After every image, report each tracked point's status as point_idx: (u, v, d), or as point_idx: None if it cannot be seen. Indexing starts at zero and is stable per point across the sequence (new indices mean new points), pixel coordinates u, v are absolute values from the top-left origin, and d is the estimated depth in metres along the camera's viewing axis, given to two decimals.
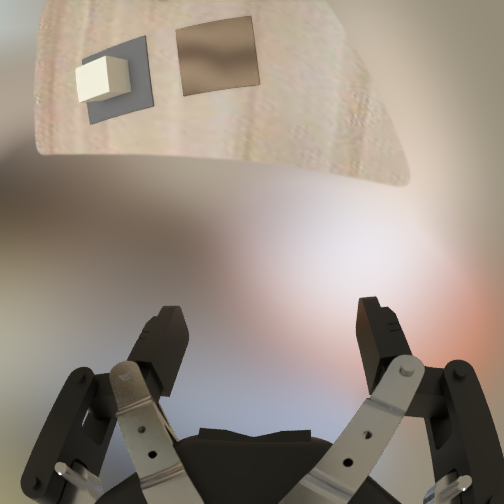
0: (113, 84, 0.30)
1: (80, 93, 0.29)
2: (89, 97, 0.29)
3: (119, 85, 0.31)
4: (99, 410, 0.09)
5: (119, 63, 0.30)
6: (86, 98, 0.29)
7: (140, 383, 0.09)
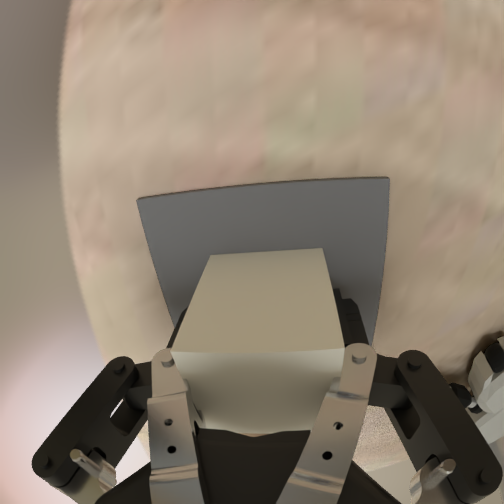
0: None
1: (209, 363, 0.08)
2: (190, 388, 0.09)
3: None
4: (133, 402, 0.09)
5: None
6: (187, 379, 0.09)
7: None
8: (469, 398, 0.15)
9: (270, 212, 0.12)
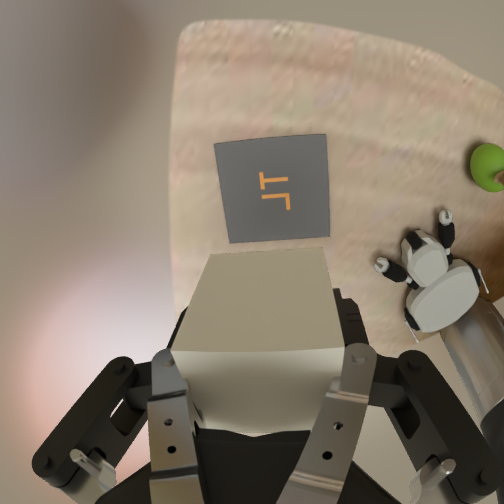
0: None
1: (209, 362, 0.08)
2: (190, 387, 0.09)
3: None
4: (133, 402, 0.09)
5: None
6: (187, 378, 0.09)
7: None
8: (402, 270, 0.30)
9: (274, 149, 0.28)
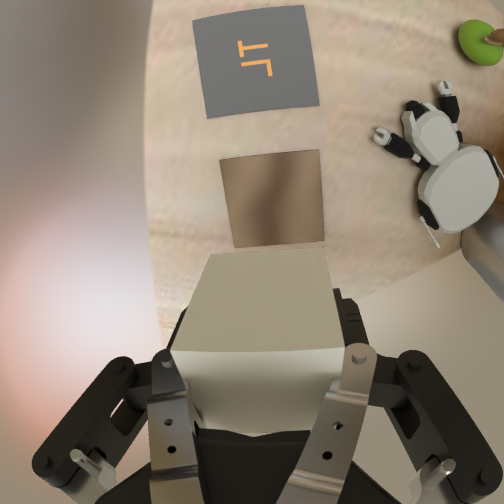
0: None
1: (209, 362, 0.08)
2: (190, 387, 0.09)
3: None
4: (133, 402, 0.09)
5: None
6: (187, 378, 0.09)
7: None
8: (408, 143, 0.24)
9: (252, 19, 0.22)
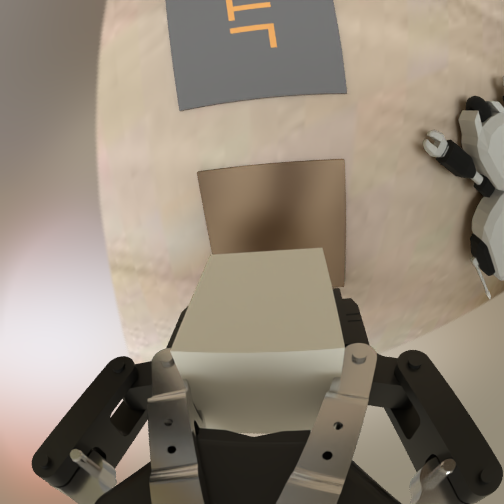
0: None
1: (209, 363, 0.08)
2: None
3: None
4: (133, 402, 0.09)
5: None
6: (187, 379, 0.09)
7: None
8: (470, 156, 0.15)
9: None
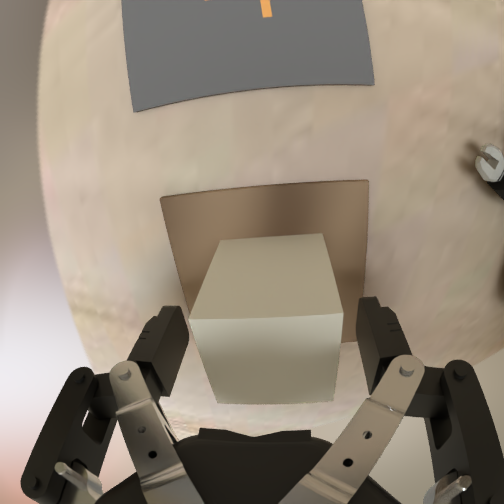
0: None
1: (223, 329, 0.10)
2: (204, 356, 0.10)
3: None
4: (99, 410, 0.09)
5: None
6: (202, 347, 0.10)
7: (140, 383, 0.09)
8: None
9: None
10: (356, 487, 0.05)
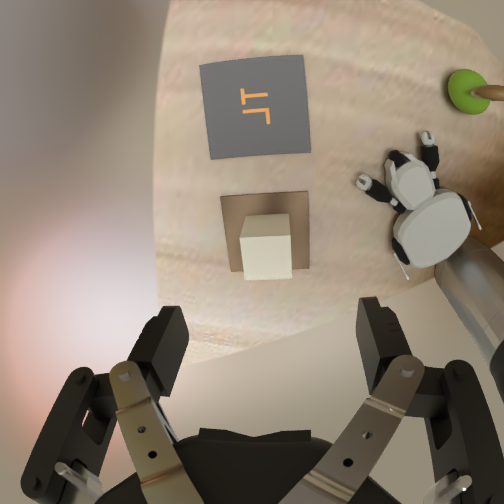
0: None
1: (251, 241, 0.30)
2: (243, 254, 0.30)
3: None
4: (99, 410, 0.09)
5: None
6: (242, 249, 0.30)
7: (140, 383, 0.09)
8: (387, 189, 0.29)
9: (255, 67, 0.27)
10: (356, 487, 0.05)
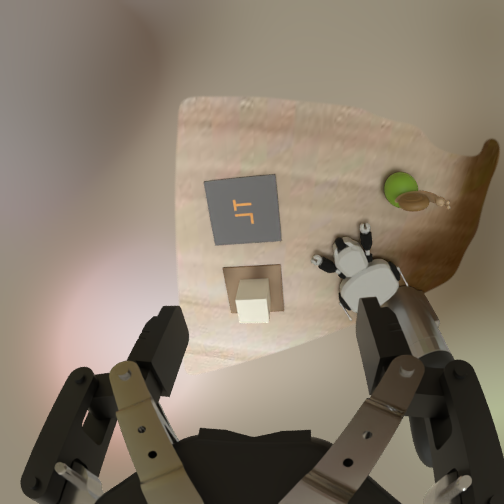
0: None
1: (242, 302, 0.47)
2: (237, 309, 0.48)
3: None
4: (99, 410, 0.09)
5: None
6: (237, 306, 0.48)
7: (140, 383, 0.09)
8: (332, 264, 0.47)
9: (242, 185, 0.45)
10: (356, 487, 0.05)
